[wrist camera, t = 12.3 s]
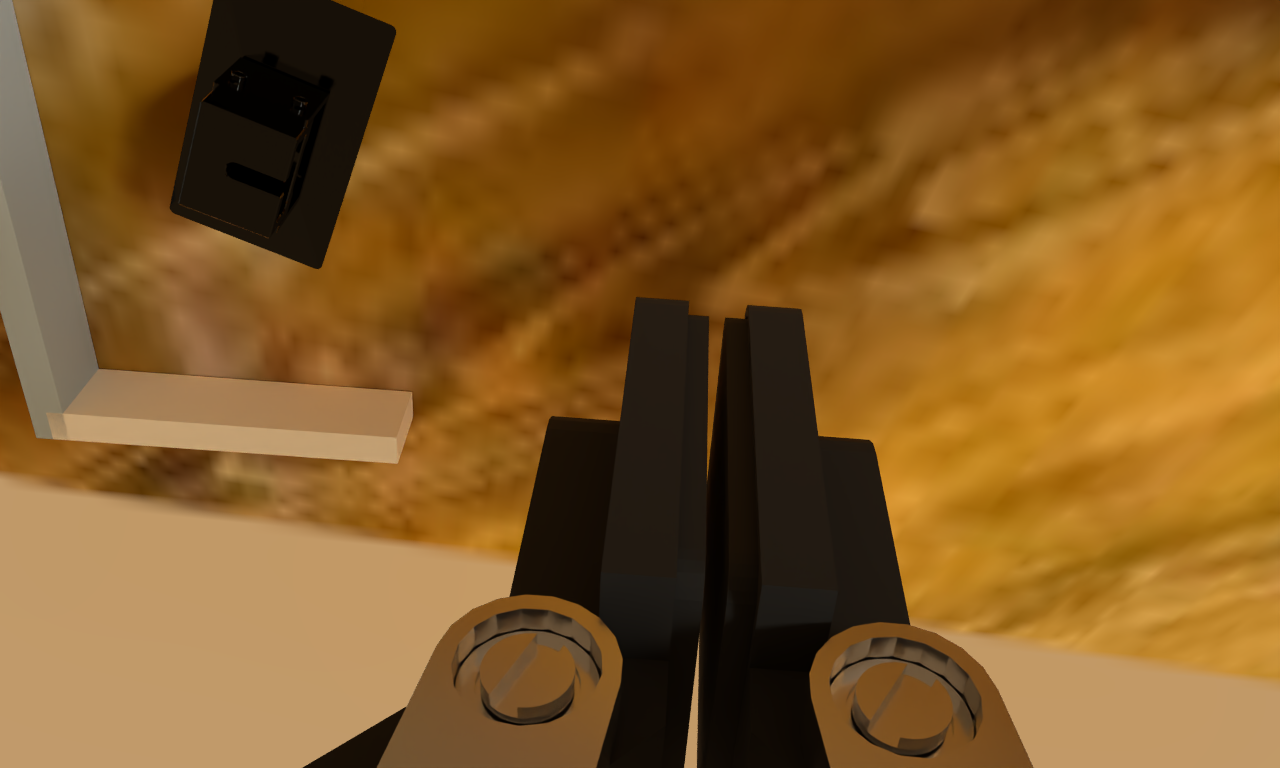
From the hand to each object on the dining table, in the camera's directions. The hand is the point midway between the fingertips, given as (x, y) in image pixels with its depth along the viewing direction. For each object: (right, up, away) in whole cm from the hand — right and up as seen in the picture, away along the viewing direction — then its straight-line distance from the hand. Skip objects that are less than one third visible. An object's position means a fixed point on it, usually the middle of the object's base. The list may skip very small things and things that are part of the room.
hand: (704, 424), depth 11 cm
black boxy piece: (-13, +9, +25) cm, 30 cm away
